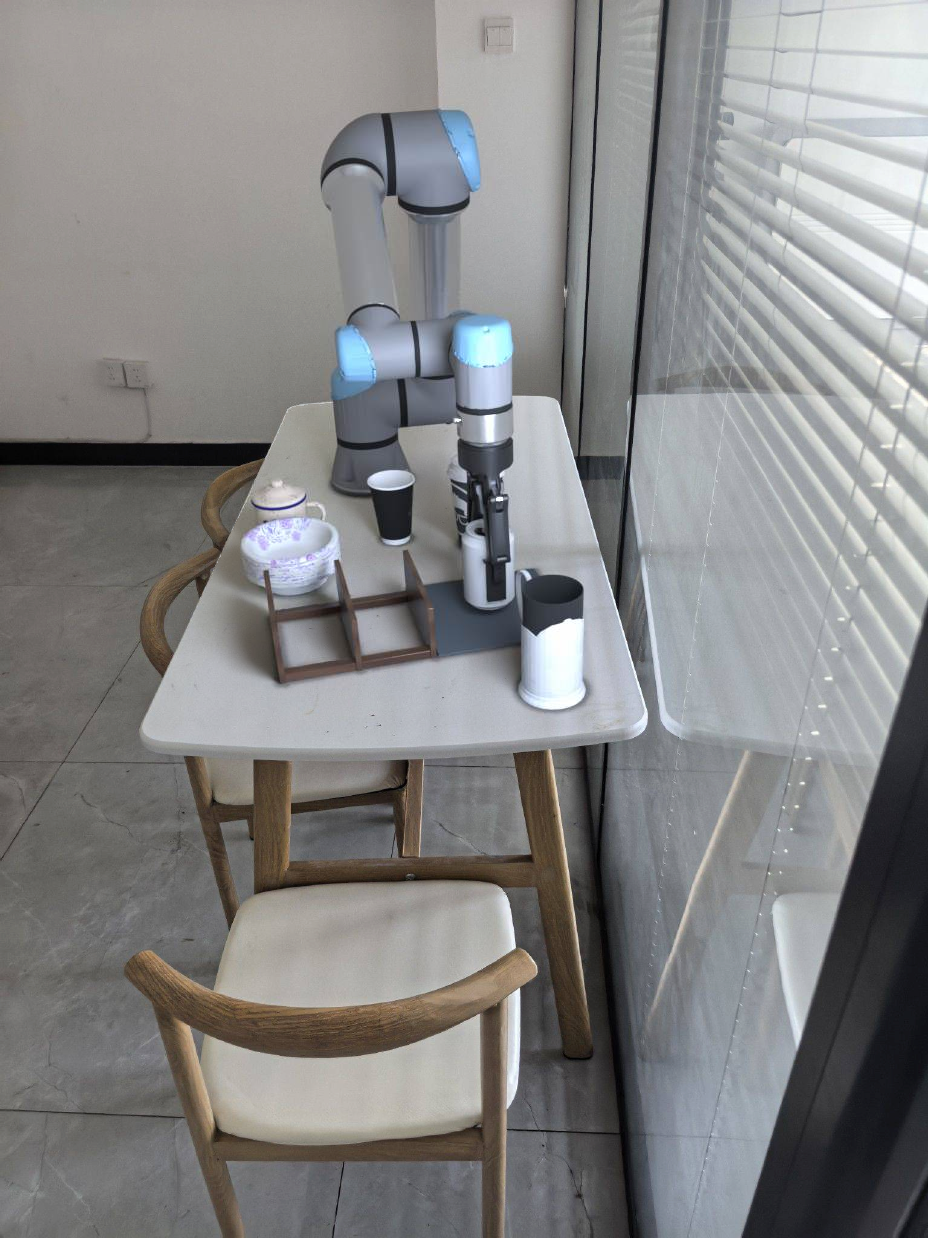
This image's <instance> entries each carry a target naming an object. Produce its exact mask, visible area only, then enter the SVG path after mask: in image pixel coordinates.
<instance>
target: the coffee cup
mask: <svg viewBox="0 0 928 1238" xmlns="http://www.w3.org/2000/svg"><path fill="white" fill-rule="evenodd" d="M506 473H507V469H505V470H504V471H502V472H501V473H500V475H499V476H500V479H503V477H504V476H505V474H506ZM446 475H447V477H448V478H449V480H450V487H451V493H452V494H451V495H452V500H453V501H452V502H453V508H454V517H455V523H456V531H457V537H458V544H459V547H460V548H461V549H462V535H463V534H464V533H465V532H466V526H467V525H468V522H467V474H466V471H465V470H464V469H462V468H461V467H460V466H459V464H458V453H457V454H455V455H453V456H452V457H451V460H450V463H449V464H448V466H447V469H446ZM503 480H504V479H503Z"/></svg>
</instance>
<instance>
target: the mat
mask: <svg viewBox="0 0 928 1238" xmlns="http://www.w3.org/2000/svg"><path fill="white" fill-rule="evenodd" d="M525 570H526V571H527V572H528V573H529V574H530V576H531V578H534V577H538V576H540V574H539V573H538V572H537V570H536V569H535V568H533V567H532V568H528V569H527V568H526V569H525ZM518 571H519V570H514V577H515V597H514V598H513V599H512V601H510V602H509V603H508V604H507V605H505V606H504V607H502V608H499V609H494V610H484V609H479V608H476V607H474V606H473V605H471V604H470V603H469V602H467V601H466V599H465V598H464V585H463V578H461V579H455V580H448V581H441V582H436V583H428V584H423V585H424V588H425V590H426V592H427V594H428V597H429V599H430V601H431V604H432V606H433V608H434V623H435V639H436V655H437V657H438V658H443V657H451V656H455V655H461V654H467V653H474V652H480V651H487V650H491V649H499V648H504V647H509V646H515V645H521V622H522V620H521V617H520V613H519V608H518V603H517V596H516V574H517V572H518ZM526 582H527V580H526V578H525V576H524V575H523V574H522V575H521V594H522V588H523V585H524V584H525V583H526Z"/></svg>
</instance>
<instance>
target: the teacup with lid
mask: <svg viewBox="0 0 928 1238" xmlns="http://www.w3.org/2000/svg"><path fill="white" fill-rule="evenodd" d="M306 499H307V493H306V491H305V489H304V488H302V487H301V486H300V485H297V484H292V483H286V482H283V480H282V479H281V478H279V477H278V478H277V477H276V478H273V479H271V480H270V483H269V484H267V485H266V486H263V487H261V488H259V489H257V490H256V491H255V492H254V493H252V496H251V500H250V504H251V505H252V506H253V512H254V519H255V524H256V525H255V526H259V525H261V524H263V523H266V522H269V521H273V520H277V519H282V518H288V517H309V515H308V508H310V507H313V508H314V507H315V508H318V509H319V510H320V511H321V517H320V518H319V519H320V520H324V521H326V517H327V510H326V507H325V505H324V504H322V503H321V502H320V501H318V500H317V501H316V500H308V501H306Z"/></svg>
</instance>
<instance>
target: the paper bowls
mask: <svg viewBox="0 0 928 1238" xmlns="http://www.w3.org/2000/svg"><path fill="white" fill-rule="evenodd" d="M320 519H321V518H317V517H309V516H308V517H288V518H282V519H277V520H273V521H269V522H266V523H263V524H261V525H259V526H257V525H255V527H253V528H251V529H250V530H248V531H247V532H246V533H245V534H244V535H243V537H242V538H241V541H240V543H239V549H240V554H241V555H240V556H241V560H242V565H243V571H244V574H245V576H246V578H247V579H248V580H249V581H250V582H252V583H253V584H254V585H257V586H259V587H263V588H264V589H265V590H266V588H265V581H264V574H263V570H269V576H270V582H271V588H272V594H275V595H279V596H298V595H299V596H300V595H304V594H307V593H312V592H313V591H316V590H317V589H319V588H320V587H322V586H323V585H324V584H325V583H326V582H327V580H328V579H329V577H330V576H332V575H333V574H334V573H335V566H334V560H338V559H339V561H340V564H342V550H341V542H340V534H339V531H338V529H337V528H336V527H335V526H334V525H333V524H331V523H330V522H328V521H326V520H325V521H324V520H320Z"/></svg>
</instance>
